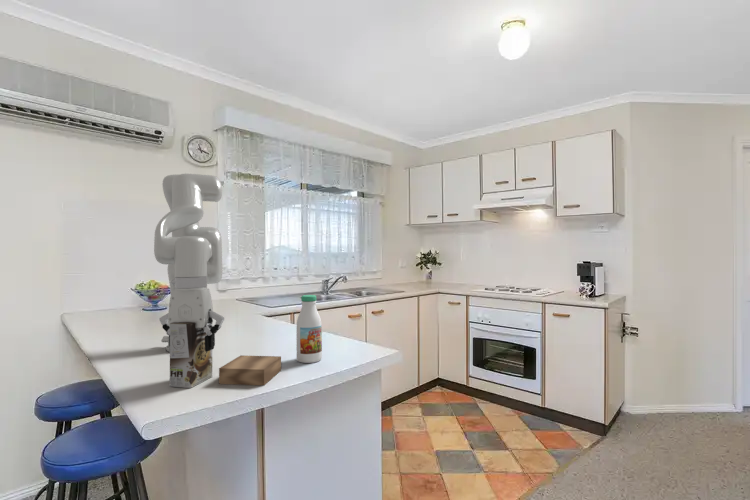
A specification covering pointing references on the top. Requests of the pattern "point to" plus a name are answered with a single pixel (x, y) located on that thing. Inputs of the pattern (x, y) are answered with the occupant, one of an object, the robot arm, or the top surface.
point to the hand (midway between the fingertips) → (191, 349)
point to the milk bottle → (309, 331)
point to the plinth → (250, 370)
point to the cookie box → (188, 355)
